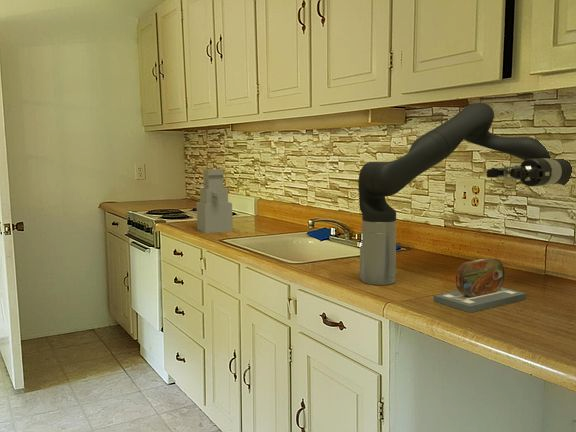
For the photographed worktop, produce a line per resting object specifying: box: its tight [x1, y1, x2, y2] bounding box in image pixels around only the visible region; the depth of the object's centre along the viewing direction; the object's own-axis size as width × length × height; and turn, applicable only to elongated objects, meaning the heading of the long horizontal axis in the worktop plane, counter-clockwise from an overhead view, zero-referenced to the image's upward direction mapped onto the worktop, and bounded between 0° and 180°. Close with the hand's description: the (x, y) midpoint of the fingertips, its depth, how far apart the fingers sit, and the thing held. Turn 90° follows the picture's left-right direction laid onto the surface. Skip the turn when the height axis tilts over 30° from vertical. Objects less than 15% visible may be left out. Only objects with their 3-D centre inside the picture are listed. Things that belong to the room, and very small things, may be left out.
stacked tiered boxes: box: [196, 168, 234, 234], centre depth 250 cm, size 13×24×28 cm, turn 26°
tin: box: [455, 258, 506, 297], centre depth 132 cm, size 15×3×8 cm, turn 121°
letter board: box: [433, 286, 527, 314], centre depth 132 cm, size 11×20×2 cm, turn 121°
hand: (501, 174), depth 140 cm, fingers open, 8 cm apart
